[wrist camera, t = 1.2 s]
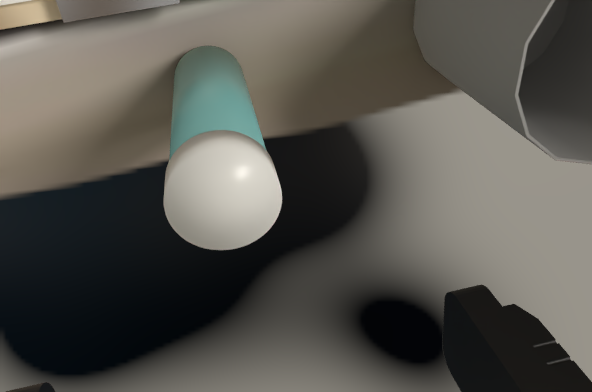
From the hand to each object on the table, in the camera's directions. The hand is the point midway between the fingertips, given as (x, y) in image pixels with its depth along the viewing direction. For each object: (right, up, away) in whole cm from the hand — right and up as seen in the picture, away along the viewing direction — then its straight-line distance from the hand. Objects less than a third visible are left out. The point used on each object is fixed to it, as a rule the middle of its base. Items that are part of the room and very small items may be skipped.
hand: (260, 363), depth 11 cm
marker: (-4, +9, +16) cm, 19 cm away
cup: (+11, +13, +17) cm, 24 cm away
